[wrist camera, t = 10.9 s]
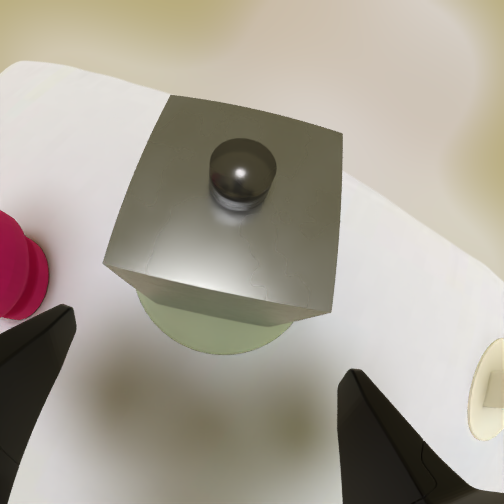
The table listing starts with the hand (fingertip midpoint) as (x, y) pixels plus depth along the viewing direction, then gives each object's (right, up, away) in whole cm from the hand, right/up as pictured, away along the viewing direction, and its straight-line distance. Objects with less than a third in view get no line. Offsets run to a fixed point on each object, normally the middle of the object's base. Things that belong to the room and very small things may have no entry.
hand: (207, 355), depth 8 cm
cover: (-1, +2, +11) cm, 11 cm away
